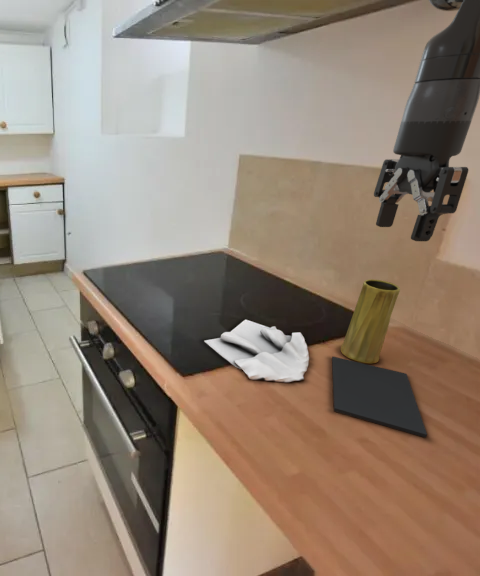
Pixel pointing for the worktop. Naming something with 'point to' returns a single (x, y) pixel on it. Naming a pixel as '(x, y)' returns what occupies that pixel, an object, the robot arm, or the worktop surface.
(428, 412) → the worktop surface
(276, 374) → the cloth
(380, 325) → the vase
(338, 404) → the mat
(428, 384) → the worktop surface
